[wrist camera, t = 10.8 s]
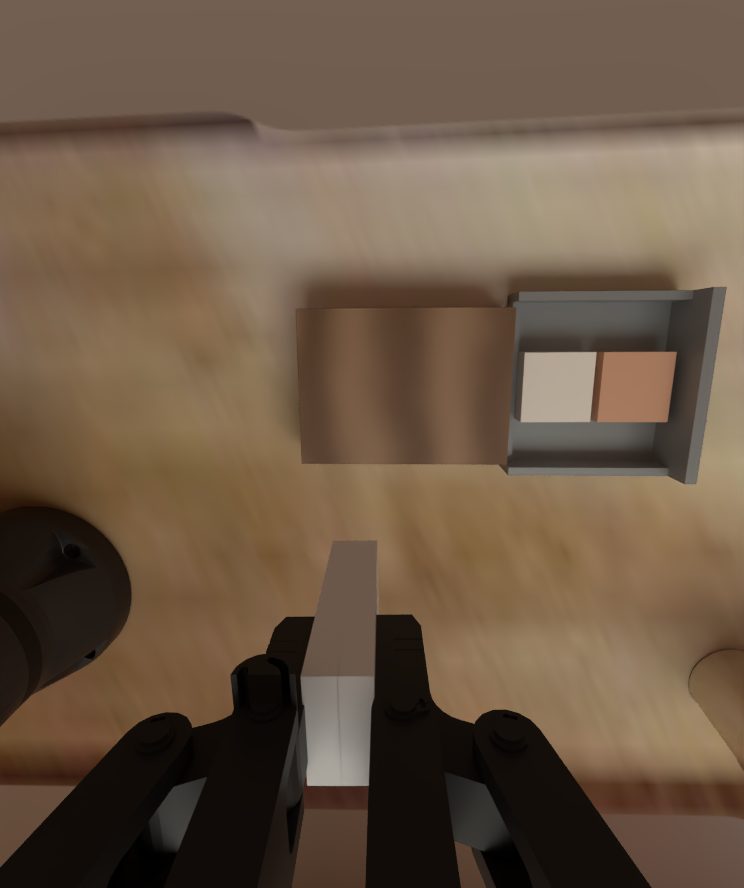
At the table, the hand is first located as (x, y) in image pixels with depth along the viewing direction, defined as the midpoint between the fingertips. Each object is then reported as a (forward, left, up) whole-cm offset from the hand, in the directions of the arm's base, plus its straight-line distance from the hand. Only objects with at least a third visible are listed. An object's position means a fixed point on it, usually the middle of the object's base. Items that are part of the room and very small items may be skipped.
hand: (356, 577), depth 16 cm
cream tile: (+13, +5, -22) cm, 26 cm away
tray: (+16, +5, -22) cm, 28 cm away
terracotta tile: (+19, +5, -19) cm, 27 cm away
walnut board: (+2, +5, -22) cm, 23 cm away
